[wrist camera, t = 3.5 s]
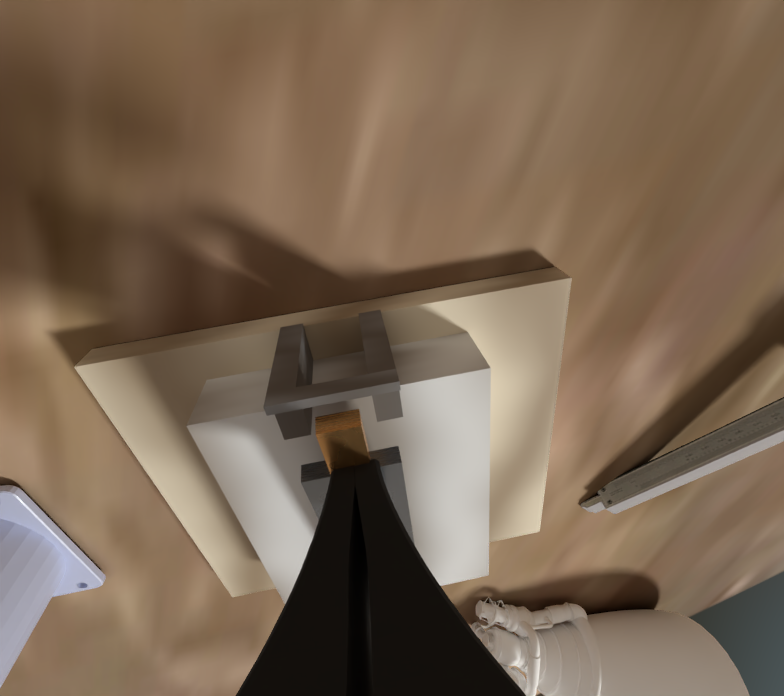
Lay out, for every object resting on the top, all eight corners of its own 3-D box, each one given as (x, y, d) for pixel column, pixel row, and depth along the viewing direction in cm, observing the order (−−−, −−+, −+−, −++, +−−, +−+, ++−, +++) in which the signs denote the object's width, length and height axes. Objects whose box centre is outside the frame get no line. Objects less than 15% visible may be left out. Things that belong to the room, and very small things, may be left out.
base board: (236, 575, 23) (213, 696, 18) (90, 346, 14) (-25, 461, 10) (530, 513, 24) (580, 613, 19) (555, 264, 15) (657, 332, 11)
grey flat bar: (358, 590, 19) (359, 604, 18) (282, 423, 11) (280, 441, 10) (419, 577, 19) (421, 590, 19) (391, 402, 11) (395, 419, 10)
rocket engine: (476, 808, 21) (752, 875, 23) (526, 580, 24) (768, 657, 26) (421, 676, 32) (610, 729, 34) (459, 531, 35) (632, 588, 37)
